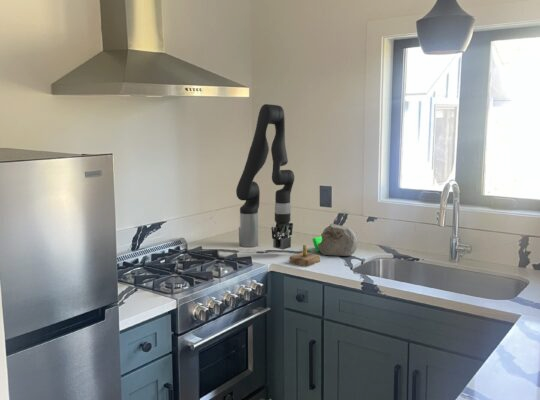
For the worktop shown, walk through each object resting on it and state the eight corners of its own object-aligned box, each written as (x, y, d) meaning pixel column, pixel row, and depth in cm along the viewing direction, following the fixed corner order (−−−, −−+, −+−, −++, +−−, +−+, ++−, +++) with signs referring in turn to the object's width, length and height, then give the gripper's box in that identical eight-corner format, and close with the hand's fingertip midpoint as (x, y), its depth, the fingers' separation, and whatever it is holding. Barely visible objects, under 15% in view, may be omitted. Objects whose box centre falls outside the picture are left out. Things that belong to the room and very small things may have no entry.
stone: (358, 254, 263) (358, 224, 260) (355, 258, 256) (356, 227, 254) (320, 251, 269) (320, 221, 267) (316, 255, 263) (316, 224, 260)
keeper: (289, 263, 249) (289, 245, 248) (302, 258, 257) (302, 241, 256) (307, 266, 243) (307, 249, 242) (320, 261, 251) (320, 244, 250)
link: (273, 247, 262) (273, 237, 261) (280, 244, 266) (281, 235, 265) (283, 249, 258) (283, 239, 257) (290, 247, 262) (290, 237, 262)
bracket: (342, 252, 283) (338, 239, 286) (352, 246, 275) (348, 232, 278) (309, 257, 274) (305, 243, 277) (318, 251, 266) (314, 237, 268)
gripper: (285, 208, 267) (285, 241, 270) (266, 212, 256) (266, 247, 259) (298, 210, 262) (297, 244, 265) (279, 215, 251) (278, 250, 254)
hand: (282, 245), depth 262 cm, fingers closed on link, 6 cm apart
